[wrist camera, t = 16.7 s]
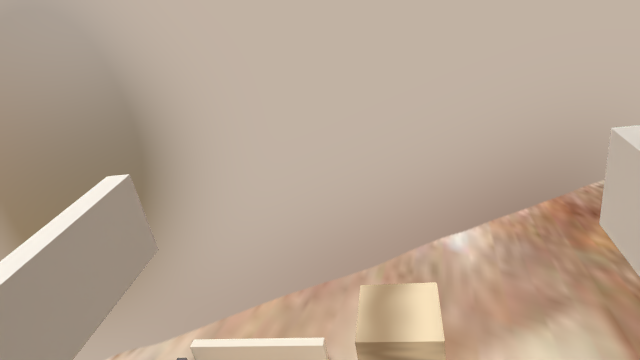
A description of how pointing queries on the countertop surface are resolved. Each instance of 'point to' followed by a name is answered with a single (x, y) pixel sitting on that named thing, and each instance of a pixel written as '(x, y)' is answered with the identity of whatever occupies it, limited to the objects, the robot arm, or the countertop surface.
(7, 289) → the robot arm
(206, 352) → the lane rail
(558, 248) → the countertop surface
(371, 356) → the maple block
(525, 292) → the countertop surface
